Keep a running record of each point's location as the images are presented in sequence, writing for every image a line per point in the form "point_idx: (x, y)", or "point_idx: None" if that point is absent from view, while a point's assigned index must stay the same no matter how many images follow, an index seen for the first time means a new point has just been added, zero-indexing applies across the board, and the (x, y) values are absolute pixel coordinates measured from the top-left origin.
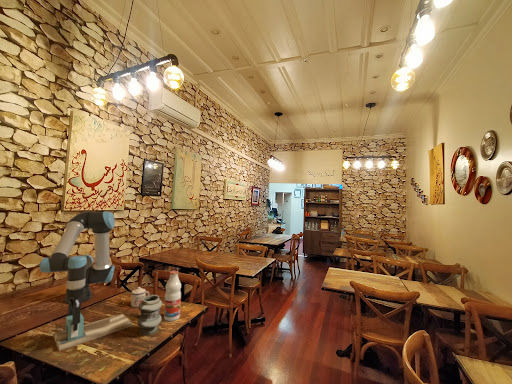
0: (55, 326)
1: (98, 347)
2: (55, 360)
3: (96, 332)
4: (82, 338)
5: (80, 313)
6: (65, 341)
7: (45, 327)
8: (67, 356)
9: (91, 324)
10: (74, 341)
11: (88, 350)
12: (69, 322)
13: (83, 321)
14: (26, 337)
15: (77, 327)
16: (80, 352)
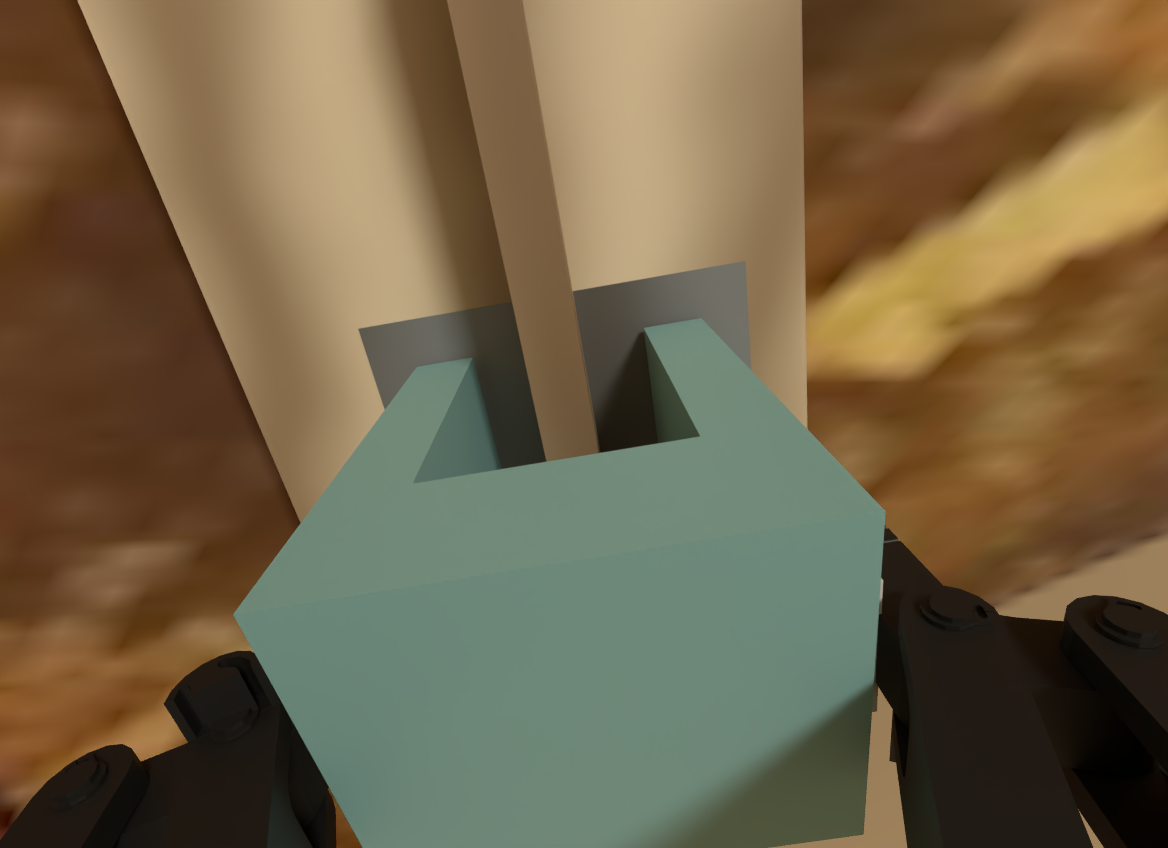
0: (3, 629)
1: (1126, 78)
2: (973, 576)
3: (712, 66)
4: (784, 330)
5: (323, 613)
6: None
7: (3, 716)
8: (994, 477)
9: (525, 163)
10: None
11: (1076, 238)
12: (855, 813)
13: (819, 447)
14: None
15: (891, 535)
16: (1033, 341)
